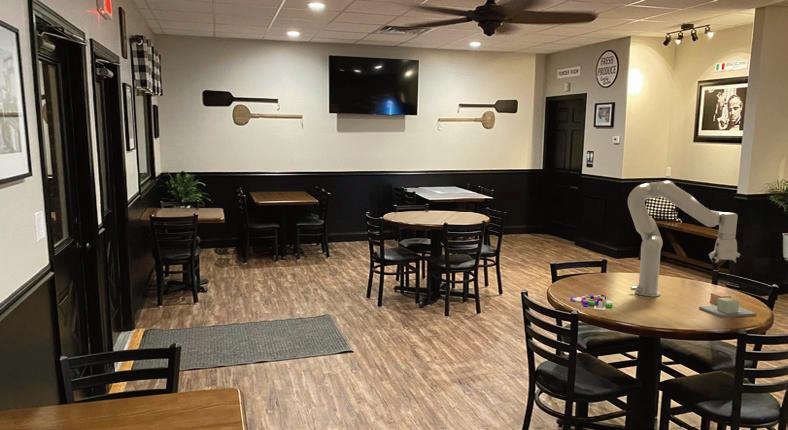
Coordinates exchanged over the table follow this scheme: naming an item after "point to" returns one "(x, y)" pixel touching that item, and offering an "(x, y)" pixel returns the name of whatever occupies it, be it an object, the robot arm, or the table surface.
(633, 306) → the table surface
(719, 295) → the terracotta block
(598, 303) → the building block set
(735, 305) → the sage green block
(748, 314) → the slate baseplate
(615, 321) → the table surface
